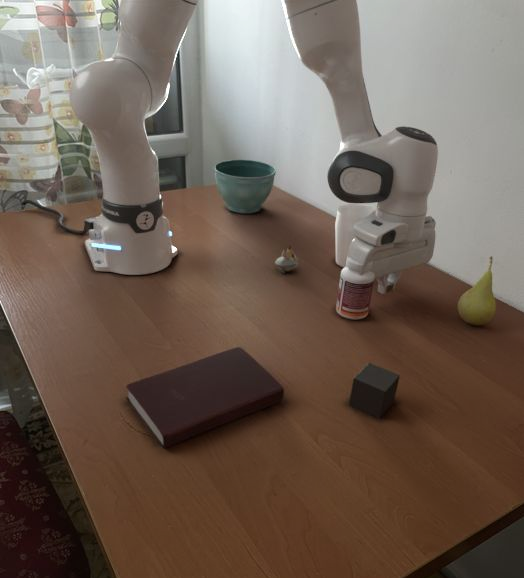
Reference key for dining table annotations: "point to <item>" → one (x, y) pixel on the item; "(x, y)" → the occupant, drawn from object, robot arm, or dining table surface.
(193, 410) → the book
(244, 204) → the flower pot
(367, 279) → the pill bottle
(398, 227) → the robot arm
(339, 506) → the dining table surface
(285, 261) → the figurine
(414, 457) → the dining table surface
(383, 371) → the charcoal block
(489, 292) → the fruit
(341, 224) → the cup
